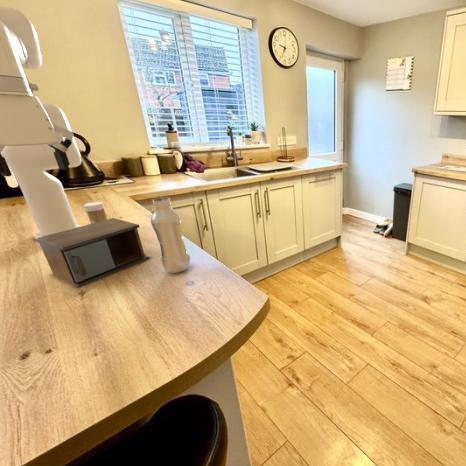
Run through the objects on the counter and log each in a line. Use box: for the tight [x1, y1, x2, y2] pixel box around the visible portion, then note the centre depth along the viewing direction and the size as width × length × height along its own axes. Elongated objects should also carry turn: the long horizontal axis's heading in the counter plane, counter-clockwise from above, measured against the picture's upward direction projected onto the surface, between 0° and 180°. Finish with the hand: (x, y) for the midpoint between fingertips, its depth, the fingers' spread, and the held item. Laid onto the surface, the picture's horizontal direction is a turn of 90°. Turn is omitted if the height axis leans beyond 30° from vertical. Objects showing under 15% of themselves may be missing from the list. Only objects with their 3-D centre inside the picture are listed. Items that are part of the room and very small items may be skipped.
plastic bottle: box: [150, 196, 191, 274], centre depth 75 cm, size 6×7×20 cm
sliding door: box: [63, 239, 115, 282], centre depth 72 cm, size 4×8×8 cm, turn 154°
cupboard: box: [37, 217, 150, 288], centre depth 78 cm, size 13×17×11 cm
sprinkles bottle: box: [83, 201, 108, 224], centre depth 92 cm, size 5×5×13 cm
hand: (37, 172), depth 65 cm, fingers open, 9 cm apart
